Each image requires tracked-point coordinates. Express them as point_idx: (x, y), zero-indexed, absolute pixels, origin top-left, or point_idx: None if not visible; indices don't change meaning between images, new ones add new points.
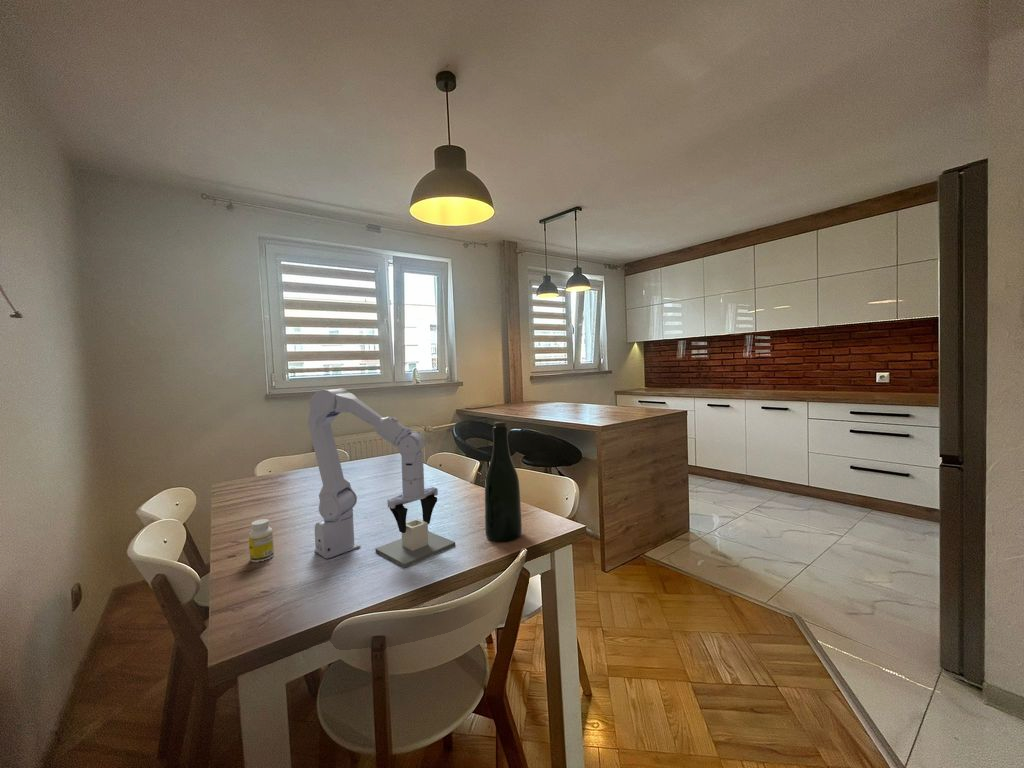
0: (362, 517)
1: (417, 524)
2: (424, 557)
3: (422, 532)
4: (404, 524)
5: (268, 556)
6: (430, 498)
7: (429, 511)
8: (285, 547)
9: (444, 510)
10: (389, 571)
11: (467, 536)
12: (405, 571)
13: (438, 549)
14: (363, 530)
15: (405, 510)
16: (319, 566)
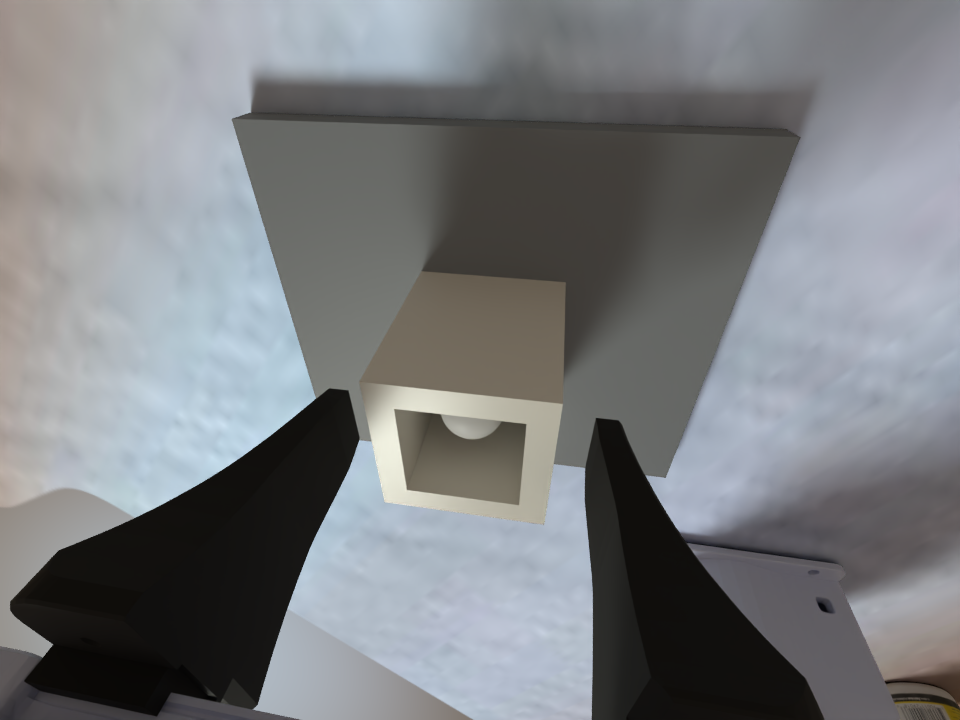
0: (455, 655)
1: (415, 450)
2: (571, 125)
3: (447, 338)
4: (629, 481)
5: (920, 696)
6: (125, 648)
7: (266, 477)
8: None
9: (152, 508)
10: (885, 187)
11: (110, 173)
12: (845, 58)
13: (413, 125)
14: (524, 607)
15: (695, 671)
16: (925, 544)
